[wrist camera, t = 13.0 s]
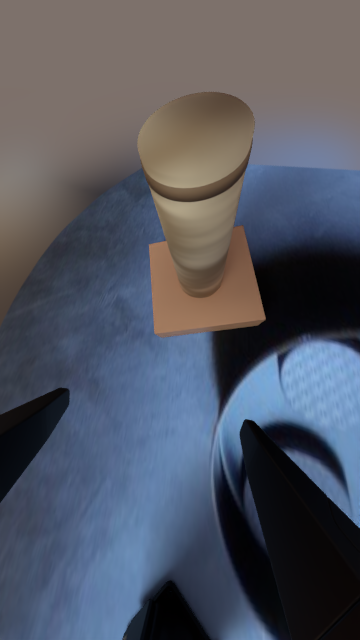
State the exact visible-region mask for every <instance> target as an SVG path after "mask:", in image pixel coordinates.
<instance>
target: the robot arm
mask: <svg viewBox="0 0 360 640" xmlns="http://www.w3.org/2000/svg"><path fill="white" fill-rule="evenodd" d="M69 395H70V391H69V389H67V388H58V389H56V390H54V391H51V392H49V393H47V394H45V395H43V396H40V397H38V398H36V399H34V400H32V401H30V402H27V403H25V404H23V405H21V406H19V407H16V408H14V409H12V410H10V411H8V412H5V413H3V414H1V415H0V503H1V501H2V500H3V499H4V497H5V496H6V495H7V493H8V492H9V491H10V489H11V488H12V487H13V485H14V484H15V483H16V481H17V480H18V479H19V477H20V476H21V475H22V473H23V472H24V471H25V469H26V468H27V466H28V465H29V464H30V462H31V461H32V460H33V458H34V457H35V456H36V454H37V453H38V452H39V450H40V449H41V448H42V446H43V445H44V444H45V442H46V441H47V439H48V438H49V436H50V435H51V433H52V432H53V430H54V428H55V427H56V425H57V424H58V422H59V420H60V419H61V417H62V416H63V414H64V412H65V411H66V409H67V407H68V405H69ZM240 440H241V446H242V451H243V457H244V462H245V468H246V472H247V476H248V480H249V484H250V487H251V491H252V495H253V498H254V502H255V506H256V510H257V513H258V517H259V521H260V524H261V528H262V532H263V535H264V539H265V543H266V546H267V550H268V554H269V557H270V561H271V565H272V568H273V572H274V576H275V580H276V583H277V587H278V591H279V594H280V598H281V602H282V605H283V609H284V613H285V616H286V620H287V624H288V627H289V631H290V635H291V638H292V640H360V528H359V527H358V526H357V525H356V524H355V523H354V522H353V521H352V520H351V519H350V518H349V517H348V516H347V515H346V514H345V513H344V512H343V511H342V510H341V509H340V508H339V507H338V506H337V505H336V504H335V503H334V502H333V501H332V500H331V499H330V498H328V497H327V496H326V494H325V493H324V492H323V491H322V490H321V489H320V488H319V487H318V486H317V485H316V484H315V483H314V482H313V481H312V480H311V479H310V478H309V477H308V476H307V475H306V474H305V473H304V472H303V471H302V470H301V469H300V468H299V467H298V466H297V465H296V464H295V463H294V462H293V461H292V460H291V459H290V458H289V457H288V456H287V455H286V454H285V452H284V451H283V450H282V449H281V448H280V447H279V446H278V445H277V444H276V443H275V442H274V441H273V440H272V439H271V438H270V437H269V436H268V435H267V434H266V433H265V432H264V431H263V430H262V429H261V428H260V427H259V426H258V425H257V424H256V423H255V422H254V421H252V420H248V419H245V420H244V422H243V424H242V427H241V430H240ZM169 590H171V591H172V592H170V591H169ZM122 640H210V639H209V637H208V636H207V634H206V633H205V631H204V629H203V628H202V626H201V625H200V623H199V622H198V620H197V618H196V617H195V615H194V614H193V612H192V611H191V609H190V608H189V606H188V604H187V603H186V601H185V600H184V598H183V597H182V595H181V593H180V592H179V590H178V589H177V587H176V586H175V584H174V583H173V582H172V581H168V582H166V584H165V585H164V586H163V587H162V588H161V590H160V591H159V592H158V593H157V594H156V596H155V597H154V598H153V599H149V600H148V602H147V603H146V604H145V605H144V606H143V608H142V609H141V610H140V611H139V612H138V614H137V615H136V616H135V617H134V618H133V620H132V621H131V623H130V627H129V628H128V629H127V630H126V631H125V633H124V636H123V639H122Z"/></svg>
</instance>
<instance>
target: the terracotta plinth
mask: <svg viewBox="0 0 360 640" xmlns="http://www.w3.org/2000/svg"><path fill="white" fill-rule="evenodd" d="M149 251H150V267H151V283H152V299H153V316H154V332H155V334H156V335H158V336H159V337H161V338H163V337H171V336H179V335H186V334H194V333H202V332H210V331H218V330H226V329H233V328H241V327H249V326H257V325H259V324H260V323H262V322H263V321H264V320H266V318H265V314H264V310H263V306H262V301H261V297H260V293H259V289H258V285H257V281H256V277H255V273H254V268H253V264H252V260H251V256H250V252H249V248H248V244H247V240H246V236H245V231H244V227H243V225H242V226H237V227H233V231H232V236H231V241H230V246H229V250H228V255H227V260H226V264H225V269H224V274H223V278H222V283H221V285H220V287H219V289H218V290H217V291H216V292H215V293H214V294H212V295H211V296H208V297H205V298H195V297H192V296H189V295H188V294H186V293H185V292H184V291H183V290H182V288H181V286H180V283H179V280H178V276H177V273H176V270H175V267H174V264H173V260H172V257H171V254H170V251H169V248H168V244H167V241H164V242H159V243H154V244H149Z"/></svg>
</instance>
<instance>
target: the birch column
mask: <svg viewBox="0 0 360 640" xmlns="http://www.w3.org/2000/svg"><path fill="white" fill-rule="evenodd" d="M254 126H255V121H254V116H253V113H252V111H251V110H250V108H249V107H248V106H247V105H246V104H245V103H244V102H243V101H242V100H240V99H238V98H237V97H234V96H232V95H228V94H225V93H218V92H202V93H195V94H190V95H186V96H183V97H180V98H178V99H175V100H173V101H171V102H169V103H167V104H165V105H164V106H162V107H161V108H159V109H158V110H157V111H156V112H154V113H153V114H152V115H151V116H150V117H149V118H148V120H147V121H146V122H145V123H144V125H143V127H142V128H141V131H140V133H139V136H138V143H137V144H138V151H139V154H140V158H141V164H142V168H143V171H144V174H145V177H146V180H147V182H148V184H149V187H150V190H151V193H152V196H153V199H154V203H155V206H156V209H157V212H158V215H159V219H160V222H161V225H162V228H163V231H164V235H165V238H166V241H167V244H168V248H169V251H170V254H171V257H172V260H173V264H174V267H175V270H176V273H177V276H178V280H179V283H180V286H181V288H182V290H183V291H184V292H185V293H186V294H188V295H189V296H192V297H195V298H205V297H208V296H211V295H212V294H214V293H215V292H216V291H217V290H218V289H219V287H220V285H221V283H222V278H223V274H224V269H225V264H226V260H227V255H228V250H229V246H230V241H231V236H232V231H233V227H234V222H235V217H236V213H237V208H238V203H239V199H240V194H241V189H242V184H243V180H244V175H245V170H246V168H247V165H248V161H249V157H250V152H251V148H252V141H253V133H254Z"/></svg>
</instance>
